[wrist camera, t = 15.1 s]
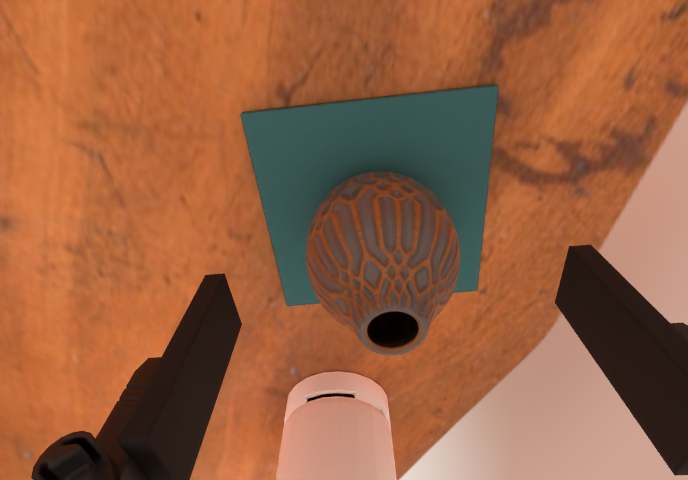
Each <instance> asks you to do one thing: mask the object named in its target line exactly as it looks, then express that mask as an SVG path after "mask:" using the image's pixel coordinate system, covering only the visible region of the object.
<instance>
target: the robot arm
mask: <svg viewBox="0 0 688 480" xmlns="http://www.w3.org/2000/svg"><path fill="white" fill-rule="evenodd" d="M555 304H556V305H557V306H558V308H559V309H560V311H561V312H562V314H563V315H564V316H565V318H566V319H567V321H568V322H569V324H570V325H571V327H572V328H573V329H574V331H575V332H576V334H577V335H578V337H579V338H580V340H581V341H582V342H583V344H584V345H585V347H586V348H587V350H588V351H589V353H590V354H591V355H592V357H593V358H594V360H595V361H596V363H597V364H598V365H599V367H600V368H601V370H602V371H603V373H604V374H605V376H606V377H607V378H608V380H609V381H610V383H611V384H612V386H613V387H614V389H615V390H616V391H617V393H618V394H619V396H620V397H621V399H622V400H623V401H624V403H625V404H626V406H627V407H628V409H629V410H630V412H631V413H632V415H633V416H634V417H635V419H636V420H637V422H638V423H639V424H640V426H641V428H642V429H643V430H644V432H645V433H646V435H647V436H648V438H649V439H650V440H651V442H652V443H653V445H654V446H655V448H656V449H657V451H658V452H659V453H660V455H661V456H662V458H663V459H664V461H665V462H666V463H667V465H668V466H669V468H670V469H671V471H672V472H673V474H674V475H688V325H686V324H684V323H669V322H668V321H667V320H666V319H665V318H664V317H663V316H662V315H661V314H660V313H659V312H658V311H657V310H656V309H655V308H654V307H653V306H652V305H651V304H650V303H649V302H648V301H647V300H646V299H645V298H644V297H643V296H642V295H641V294H640V293H639V292H638V291H637V290H636V289H635V288H634V287H633V286H632V285H631V284H630V283H629V282H628V281H627V280H626V279H625V278H624V277H623V276H622V275H621V274H620V273H619V272H618V271H617V270H616V269H615V268H614V267H613V266H612V265H611V264H610V263H609V262H608V261H607V260H606V259H605V258H603V256H602V255H601V254H600V253H599V252H598V251H597V250H595V249H594V248H593V247H592V246H591V245H581V246H569V249H568V253H567V257H566V261H565V265H564V269H563V273H562V277H561V281H560V285H559V288H558V292H557V296H556V300H555ZM241 325H242V323H241V320H240V318H239V315H238V312H237V309H236V306H235V303H234V300H233V297H232V294H231V291H230V288H229V286H228V283H227V280H226V277H225V274H213V275H205V277H204V279H203V281H202V283H201V285H200V286H199V288H198V290H197V292H196V294H195V296H194V298H193V299H192V301H191V303H190V305H189V307H188V309H187V311H186V313H185V314H184V316H183V318H182V320H181V322H180V324H179V326H178V328H177V329H176V331H175V333H174V335H173V337H172V339H171V341H170V343H169V344H168V346H167V348H166V350H165V352H164V354H163V356H162V357H157V358H148V359H147V360H146V361H145V362H144V363H143V364H142V365H141V366H140V367H139V368H138V369H137V370H136V371H135V372H134V374H133V376H132V377H131V379H130V381H129V383H128V384H127V388H126V389H124V391H123V393H122V395H121V396H120V398H119V399H120V400H119V401H117V403H116V405H115V406H114V408H113V410H112V412H111V413H110V415H109V417H108V418H107V420H106V422H105V424H104V425H103V427H102V429H101V430H100V432H99V434H98V435H97V437H96V439H95V438H94V437H93V435H92V434H91V433H89V432H85V431H79V432H73V433H71V434H68V435H66V436H64V437H62V438H60V439H59V440H57V441H56V442H55V443H53V444H52V445H50V446H49V447H48V448H47V449H46V450H45V452H44V453H43V454H42V455H41V456H40V457H39V459H38V460H37V462H36V464H35V466H34V467H33V472H32V477H31V478H32V479H33V480H190V477H191V474H192V471H193V468H194V465H195V462H196V459H197V456H198V453H199V450H200V447H201V444H202V441H203V438H204V435H205V432H206V429H207V426H208V423H209V420H210V417H211V414H212V411H213V408H214V405H215V402H216V399H217V397H218V394H219V391H220V388H221V385H222V382H223V379H224V376H225V373H226V370H227V367H228V364H229V361H230V358H231V355H232V352H233V349H234V346H235V343H236V340H237V337H238V334H239V331H240V328H241Z"/></svg>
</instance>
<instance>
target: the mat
mask: <svg viewBox="0 0 688 480" xmlns="http://www.w3.org/2000/svg"><path fill="white" fill-rule="evenodd" d="M497 96H498V85H486V86H477V87H468V88H458V89H449V90H440V91H431V92H422V93H413V94H404V95H395V96H386V97H377V98H368V99H359V100H350V101H341V102H331V103H322V104H313V105H304V106H295V107H286V108H277V109H268V110H259V111H250V112H242V113H241V114H240V115H241V119H242V123H243V128H244V132H245V136H246V140H247V144H248V148H249V152H250V156H251V160H252V164H253V168H254V173H255V177H256V181H257V185H258V189H259V193H260V197H261V201H262V205H263V209H264V214H265V218H266V222H267V226H268V230H269V234H270V238H271V242H272V246H273V250H274V255H275V259H276V263H277V267H278V271H279V275H280V279H281V283H282V287H283V291H284V296H285V300H286V304H287V306H293V305H305V304H318V303H321V302H320V301H319V299H318V298H317V296H316V294H315V291H314V289H313V287H312V284H311V281H310V278H309V274H308V270H307V265H306V242H307V236H308V231H309V227H310V224H311V221H312V218H313V216H314V214H315V212H316V210H317V208H318V207H319V205H320V204H321V202H322V201H323V200H324V198H325V197H326V196H327V195H328V194H329V193H330V192H331V191H332V190H333V189H334V188H335V187H337V186H338V185H339V184H341V183H342V182H344V181H345V180H347V179H349V178H351V177H354V176H356V175H359V174H363V173H367V172H374V171H388V172H394V173H399V174H402V175H405V176H407V177H410V178H412V179H414V180H416V181H418V182H420V183H421V184H422V185H424V186H425V187H427V188H428V189H429V190H430V191H432V192H433V193H434V194H435V195H436V197H437V198H438V199H439V200H440V202H441V203H442V204H443V206H444V207H445V209H446V210H447V212H448V214H449V215H450V217H451V219H452V222H453V224H454V226H455V229H456V232H457V236H458V241H459V248H460V267H459V274H458V279H457V283H456V286H455V289H454V292H453V293H455V292H467V291H477V288H478V278H479V269H480V259H481V250H482V240H483V230H484V221H485V211H486V202H487V192H488V182H489V173H490V163H491V154H492V144H493V135H494V125H495V115H496V106H497Z"/></svg>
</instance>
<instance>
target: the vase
mask: <svg viewBox="0 0 688 480" xmlns="http://www.w3.org/2000/svg"><path fill="white" fill-rule="evenodd" d="M306 265H307V270H308V274H309V278H310V281H311V284H312V287H313V289H314V291H315V294H316V296H317V298H318V299H319V301H320V302H321V304H322V305H323V307H324V308H325V309H326V310H327V312H328V313H329V314H330V315H331V316H332V317H333V318H334V319H336V320H337V321H338V322H339V323H341V324H342V325H344V326H345V327H347V328H348V329H350V330H351V331H353V332H355V333H356V334H357V336H358V337H359V339H360V340H361V342H362V343H363V344H364V345H365V346H366V347H367V348H368V349H370V350H371V351H373V352H376V353H379V354H383V355H399V354H404V353H407V352H409V351H411V350H413V349H415V348H416V347H418V346H419V345H420V344H421V343H422V342H423V340H424V339H425V337H426V335H427V332H428V329H429V326H430V323H431V322H432V321H433V320H434V319H435V318H436V317H437V316H438V314H439V313H440V312H441V311H442V310H443V308H444V307H445V306H446V304H447V303H448V301H449V299H450V298H451V296H452V294H453V292H454V289H455V286H456V283H457V279H458V274H459V267H460V248H459V241H458V236H457V232H456V229H455V226H454V224H453V222H452V219H451V217H450V215H449V214H448V212H447V210H446V209H445V207H444V206H443V204H442V203H441V202H440V200H439V199H438V198H437V197H436V195H435V194H434V193H433V192H432V191H430V190H429V189H428V188H427V187H425V186H424V185H422V184H421V183H420V182H418V181H416V180H414V179H412V178H410V177H407V176H405V175H402V174H399V173H394V172H388V171H374V172H367V173H363V174H359V175H356V176H354V177H351V178H349V179H347V180H345V181H344V182H342V183H341V184H339V185H338V186H337V187H335V188H334V189H333V190H332V191H331V192H330V193H329V194H328V195H327V196H326V197H325V198H324V200H323V201H322V202H321V204H320V205H319V207H318V208H317V210H316V212H315V214H314V216H313V218H312V221H311V224H310V227H309V231H308V236H307V242H306Z"/></svg>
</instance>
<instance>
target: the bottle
mask: <svg viewBox="0 0 688 480" xmlns="http://www.w3.org/2000/svg"><path fill="white" fill-rule="evenodd" d="M331 393H343V394H352V395H354V397H355V398H349V397H340V396H335V397H323V398H319V399H316V400H312V401H309V402H307V400H308V398H312V397H315V396H318V395H321V394H331ZM381 411H382V412H381ZM284 424H285V425H284V429H283V435H282V441H281V448H280V455H279V462H278V469H277V475H276V480H397V479H396V470H395V461H394V452H393V443H392V434H391V427H390V416H389V408H388V399H387V395H386V393H385V392H384V390H383V389H382V387H381V386H380V385H378V384H377V383H375V382H374V381H373V380H371V379H370V378H367V377H364V376H362V375H359V374H356V373H349V372H341V371H335V372H323V373H319V374H316V375H313V376H310V377H307V378H305V379H304V380H302V381H301V382H299V383H298V384H296V385H295V386H294V388H293V389H292V390H291V392H290V393H289V395H288V400H287V407H286V414H285V421H284Z"/></svg>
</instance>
